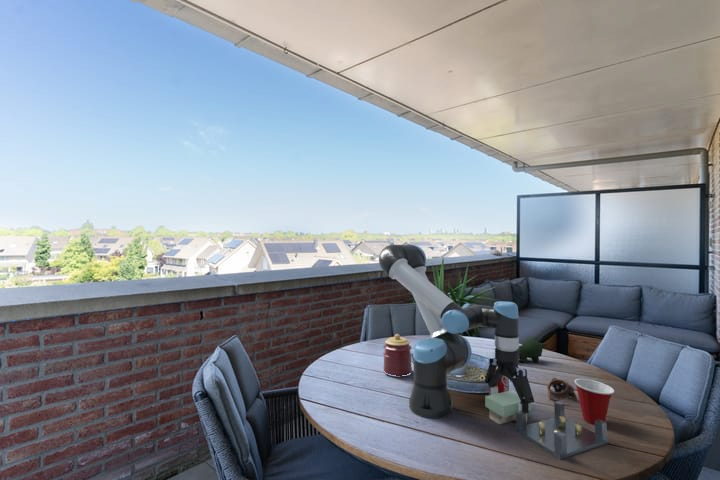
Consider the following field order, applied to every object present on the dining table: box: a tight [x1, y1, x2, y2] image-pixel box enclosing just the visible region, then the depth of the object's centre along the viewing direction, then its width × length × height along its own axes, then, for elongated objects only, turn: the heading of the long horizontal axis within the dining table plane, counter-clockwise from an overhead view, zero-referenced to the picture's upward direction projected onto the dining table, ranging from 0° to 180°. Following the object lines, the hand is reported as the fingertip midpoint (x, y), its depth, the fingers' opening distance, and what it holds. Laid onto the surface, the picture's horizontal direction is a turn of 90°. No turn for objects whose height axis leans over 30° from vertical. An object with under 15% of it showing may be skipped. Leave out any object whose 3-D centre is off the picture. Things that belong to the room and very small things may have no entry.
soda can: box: [488, 366, 510, 395], centre depth 127 cm, size 7×7×12 cm
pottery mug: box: [547, 377, 578, 402], centre depth 127 cm, size 12×10×8 cm
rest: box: [488, 408, 516, 425], centre depth 112 cm, size 12×4×3 cm, turn 112°
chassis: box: [514, 400, 609, 460], centre depth 101 cm, size 20×15×6 cm
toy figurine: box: [494, 332, 548, 363], centre depth 169 cm, size 9×19×25 cm
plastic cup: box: [574, 378, 615, 426], centre depth 110 cm, size 11×11×12 cm
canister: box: [382, 333, 413, 376], centre depth 154 cm, size 13×13×18 cm
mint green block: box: [484, 390, 532, 417], centre depth 113 cm, size 12×8×4 cm, turn 112°
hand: (508, 413), depth 112 cm, fingers open, 11 cm apart
